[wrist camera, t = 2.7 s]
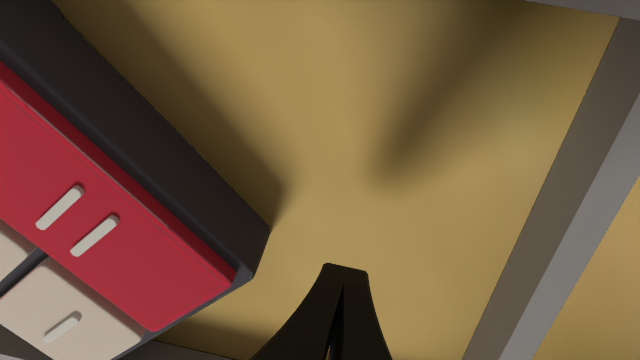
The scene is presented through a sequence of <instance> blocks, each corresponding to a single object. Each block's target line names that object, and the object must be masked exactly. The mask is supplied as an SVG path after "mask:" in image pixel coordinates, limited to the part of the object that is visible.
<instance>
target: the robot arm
mask: <svg viewBox="0 0 640 360" xmlns="http://www.w3.org/2000/svg"><path fill="white" fill-rule="evenodd" d="M329 346H330V350H329V360H392V357H391V355H390V352H389V350H388V347H387V345H386V342H385V340H384V337H383V334H382V331H381V328H380V325H379V322H378V318H377V315H376V312H375V308H374V305H373V300H372V296H371V292H370V286H369V279H368V274H367V272H366V271H363V270H359V269H354V268H350V267H345V266H340V265H336V264H331V263H326V264H323V267H322V270H321V272H320V274H319V276H318V278H317V280H316V281H315V283H314V285H313V286H312V288H311V290H310V291H309V293H308V294H307V295H306V297H305V298H304V300H303V301H302V303H301V304H300V305H299V307H298V308H297V309H296V311H295V312H294V313H293V314H292V315H291V317H290V318H289V319H288V320H287V322H286V323H285V324H284V325H283V326H282V327H281V329H280V330H279V331H278V332H277V333H276V334H275V335H274V336H273V337H272V338H271V339H270V340H269V341H268V342H267V343H266V344H265V345H264V346H263V347H262V348H261V349H260V350H259V351H258V352H257V353H256V354H255V355H254V356H253V357H251V358H250V359H249V360H326V356H327V353H328V349H329Z"/></svg>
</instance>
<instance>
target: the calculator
mask: <svg viewBox="0 0 640 360" xmlns="http://www.w3.org/2000/svg"><path fill="white" fill-rule="evenodd" d="M269 235H270V229H269V227H268V225H267V224H266V223H265V222H264V221H263V220H262V219H261V218H260V217H259V216H258V215H257V213H256V212H255V211H254V210H253V209H252V208H251V207H250V206H249V205H248V204H247V203H246V202H245V201H244V200H243V199H242V198H241V197H240V196H239V195H238V194H237V193H236V192H235V191H234V190H233V189H232V188H231V187H230V185H229V184H228V183H227V182H226V181H225V180H224V179H223V178H222V177H221V176H220V175H219V174H218V173H217V172H216V171H215V170H214V169H213V168H212V167H211V166H210V165H209V164H208V163H207V162H206V161H205V160H204V159H203V157H202V156H201V155H200V154H199V153H198V152H197V151H196V150H195V149H194V148H193V147H192V146H191V145H190V144H189V143H188V142H187V141H186V140H185V139H184V138H183V137H182V136H181V135H180V134H179V133H178V132H177V131H176V130H175V129H174V128H173V127H172V126H171V125H170V124H169V123H168V122H167V121H166V120H165V119H164V118H163V117H162V116H161V115H160V114H159V113H158V112H157V111H156V110H155V109H154V108H153V107H152V106H151V105H150V104H149V103H148V102H147V101H146V100H145V99H144V98H143V97H142V96H141V95H140V94H139V93H138V92H137V91H136V90H135V89H134V88H133V87H132V86H131V85H130V84H129V83H128V82H127V81H126V80H125V79H124V78H123V77H122V76H121V75H120V74H119V73H118V72H117V71H116V70H114V69H113V68H112V67H111V66H110V65H109V64H108V63H107V62H106V61H105V60H104V59H103V58H102V57H101V56H100V55H99V54H98V53H97V52H96V51H95V50H94V49H93V48H92V47H91V46H90V45H89V44H88V43H87V42H86V41H85V40H84V39H83V38H82V37H81V36H80V35H79V34H78V33H77V32H76V31H75V30H74V29H73V28H72V27H71V26H70V25H69V24H68V23H67V22H66V21H65V20H64V18H63V16H62V14H61V12H60V10H59V8H58V7H57V6H56V5H55V4H54V3H53V2H52V1H51V0H0V324H1V325H3V326H4V327H6V328H7V329H9V330H10V331H12V332H13V333H15V334H16V335H18V336H19V337H21V338H22V339H24V340H25V341H27V342H28V343H30V344H31V345H33V346H34V347H36V348H37V349H39V350H40V351H42V352H43V353H45V354H46V355H48V356H49V357H51V358H52V359H54V360H117V359H119V358H121V357H122V356H124V355H126V354H128V353H129V352H131V351H133V350H134V349H136V348H138V347H139V346H141V345H143V344H144V343H146V342H148V341H150V340H151V339H153V338H155V337H156V336H158V335H160V334H161V333H163V332H165V331H166V330H168V329H170V328H171V327H173V326H175V325H177V324H178V323H180V322H182V321H183V320H185V319H187V318H188V317H190V316H192V315H193V314H195V313H197V312H199V311H200V310H202V309H204V308H205V307H207V306H209V305H210V304H212V303H214V302H215V301H217V300H219V299H220V298H222V297H224V296H226V295H227V294H229V293H231V292H232V291H234V290H236V289H237V288H239V287H241V286H242V285H244V284H246V283H247V282H249V281H250V280H252V279H253V278H254V276H255V273H256V271H257V268H258V266H259V263H260V260H261V257H262V254H263V252H264V249H265V246H266V243H267V241H268V238H269Z"/></svg>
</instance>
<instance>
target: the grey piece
mask: <svg viewBox="0 0 640 360" xmlns="http://www.w3.org/2000/svg"><path fill="white" fill-rule="evenodd" d="M524 1H530V2H536V3H542V4H548V5H553V6H559V7H565V8H571V9H577V10H582V11H588V12H594V13H600V14H606V15H611V16H617V17H621V19H620V21H619V23H618V25H617V27H616V30H615V32H614V34H613V36H612V38H611V40H610V43H609V45H608V47H607V49H606V51H605V53H604V55H603V58H602V60H601V62H600V64H599V66H598V68H597V70H596V73H595V75H594V77H593V79H592V81H591V83H590V86H589V88H588V90H587V92H586V94H585V96H584V98H583V101H582V103H581V105H580V107H579V109H578V111H577V113H576V116H575V118H574V120H573V122H572V124H571V126H570V128H569V131H568V133H567V135H566V137H565V139H564V141H563V144H562V146H561V148H560V150H559V152H558V154H557V156H556V159H555V161H554V163H553V165H552V167H551V169H550V171H549V174H548V176H547V178H546V180H545V182H544V184H543V187H542V189H541V191H540V193H539V195H538V197H537V199H536V202H535V204H534V206H533V208H532V210H531V212H530V214H529V217H528V219H527V221H526V223H525V225H524V227H523V230H522V232H521V234H520V236H519V238H518V240H517V242H516V245H515V247H514V249H513V251H512V253H511V255H510V257H509V260H508V262H507V264H506V266H505V268H504V270H503V272H502V275H501V277H500V279H499V281H498V283H497V285H496V288H495V290H494V292H493V294H492V296H491V298H490V300H489V303H488V305H487V307H486V309H485V311H484V313H483V315H482V318H481V320H480V322H479V324H478V326H477V328H476V331H475V333H474V335H473V337H472V339H471V341H470V343H469V346H468V348H467V350H466V352H465V354H464V356H463V358H462V360H532V358H533V356H534V354H535V353H536V351H537V349H538V348H539V346H540V344H541V342H542V341H543V339H544V337H545V336H546V334H547V332H548V330H549V329H550V327H551V325H552V324H553V322H554V320H555V319H556V317H557V315H558V313H559V312H560V310H561V308H562V307H563V305H564V303H565V301H566V300H567V298H568V296H569V295H570V293H571V291H572V289H573V288H574V286H575V284H576V283H577V281H578V279H579V278H580V276H581V274H582V272H583V271H584V269H585V267H586V266H587V264H588V262H589V260H590V259H591V257H592V255H593V254H594V252H595V250H596V249H597V247H598V245H599V243H600V242H601V240H602V238H603V237H604V235H605V233H606V231H607V230H608V228H609V226H610V225H611V223H612V221H613V219H614V218H615V216H616V214H617V213H618V211H619V209H620V208H621V206H622V204H623V202H624V201H625V199H626V197H627V196H628V194H629V192H630V190H631V189H632V187H633V185H634V184H635V182H636V180H637V179H638V177H639V175H640V0H524ZM0 360H54V359H52V358H51V357H49V356H48V355H46V354H45V353H43V352H42V351H40V350H39V349H37V348H36V347H34V346H33V345H31V344H30V343H28V342H27V341H25V340H24V339H22V338H21V337H19V336H18V335H16V334H15V333H13V332H12V331H10V330H9V329H7V328H6V327H4V326H3V325H1V324H0ZM117 360H234V359H229V358H225V357H221V356H217V355H213V354H208V353H204V352H200V351H196V350H191V349H187V348H183V347H179V346H175V345H170V344H166V343H162V342H158V341H153V340H150V341H148V342H146V343H144V344H143V345H141V346H139V347H138V348H136V349H134V350H133V351H131V352H129V353H128V354H126V355H124V356H122V357H121V358H119V359H117Z"/></svg>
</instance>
